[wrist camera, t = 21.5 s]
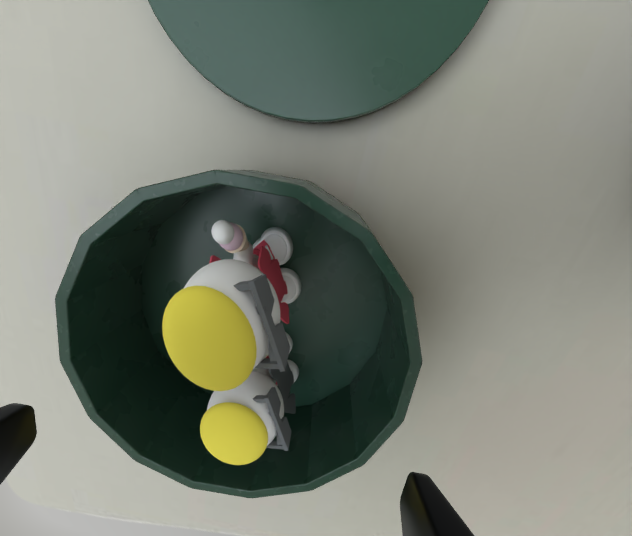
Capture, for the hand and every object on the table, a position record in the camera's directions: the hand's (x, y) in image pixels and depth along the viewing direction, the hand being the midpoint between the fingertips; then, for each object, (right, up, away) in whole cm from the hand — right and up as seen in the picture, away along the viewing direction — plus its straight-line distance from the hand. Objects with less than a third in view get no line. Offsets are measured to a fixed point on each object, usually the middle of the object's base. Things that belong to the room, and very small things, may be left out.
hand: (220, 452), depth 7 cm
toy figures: (-1, +2, +11) cm, 12 cm away
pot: (-1, +2, +12) cm, 12 cm away
